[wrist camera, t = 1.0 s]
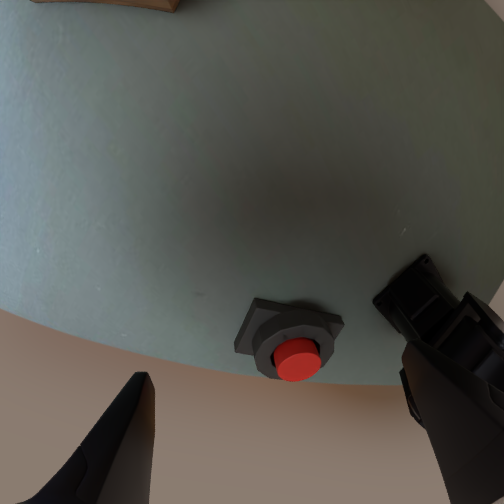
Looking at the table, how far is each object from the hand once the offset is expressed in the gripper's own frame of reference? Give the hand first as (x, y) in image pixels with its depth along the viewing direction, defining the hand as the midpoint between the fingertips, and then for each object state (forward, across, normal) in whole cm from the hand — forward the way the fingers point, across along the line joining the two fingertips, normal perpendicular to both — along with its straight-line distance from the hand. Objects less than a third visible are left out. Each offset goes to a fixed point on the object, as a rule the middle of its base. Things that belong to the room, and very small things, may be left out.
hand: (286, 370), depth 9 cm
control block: (+12, -3, +10) cm, 16 cm away
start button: (+10, -3, +10) cm, 14 cm away
